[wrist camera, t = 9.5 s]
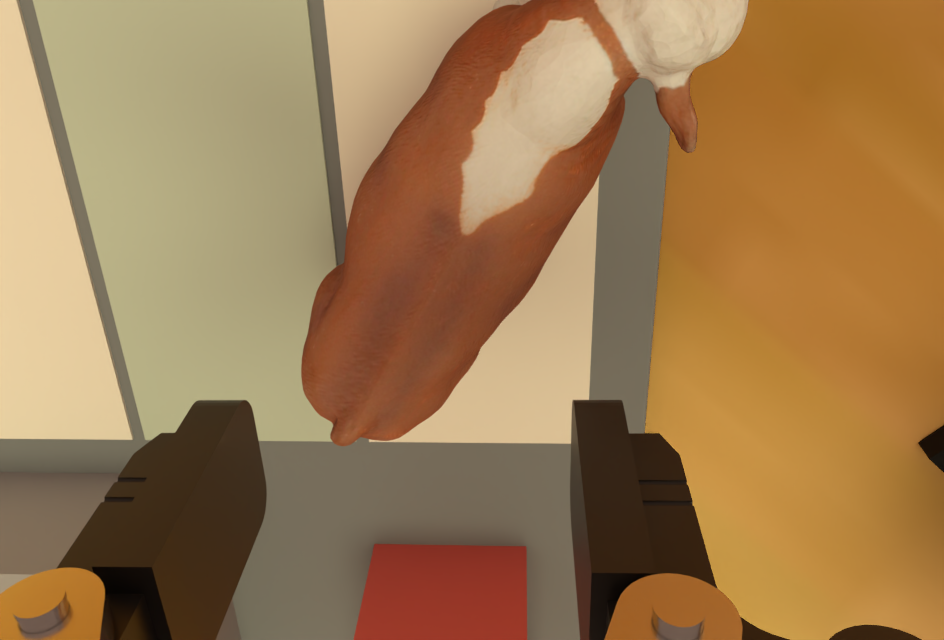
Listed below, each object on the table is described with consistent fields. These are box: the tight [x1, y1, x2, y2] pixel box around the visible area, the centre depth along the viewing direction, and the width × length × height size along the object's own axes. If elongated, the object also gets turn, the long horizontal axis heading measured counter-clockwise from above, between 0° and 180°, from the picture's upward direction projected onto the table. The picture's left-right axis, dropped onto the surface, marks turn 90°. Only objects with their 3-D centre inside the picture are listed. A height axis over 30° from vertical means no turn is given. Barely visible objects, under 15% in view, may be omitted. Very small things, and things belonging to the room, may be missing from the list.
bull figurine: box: [301, 0, 749, 446], centre depth 18 cm, size 4×13×8 cm, turn 145°
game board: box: [0, 0, 670, 640], centre depth 23 cm, size 29×31×6 cm
